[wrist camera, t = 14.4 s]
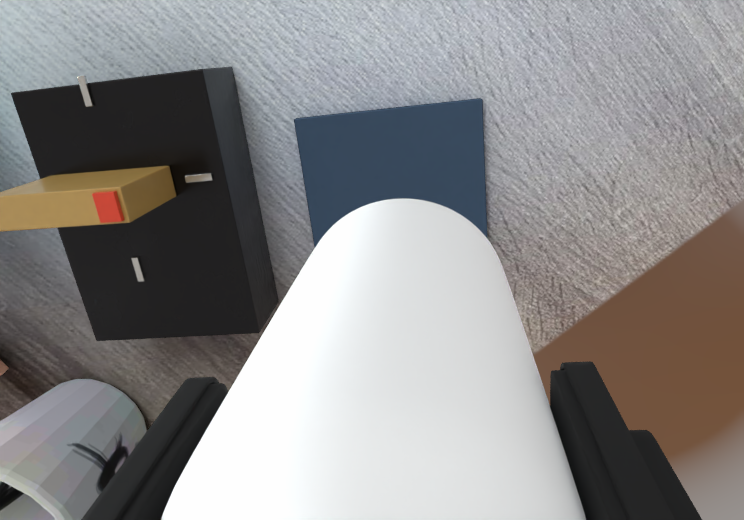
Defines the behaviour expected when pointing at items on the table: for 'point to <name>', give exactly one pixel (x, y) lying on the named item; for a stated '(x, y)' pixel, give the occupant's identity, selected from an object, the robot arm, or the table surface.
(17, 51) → the table surface
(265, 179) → the table surface
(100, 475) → the mug
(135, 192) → the manila folder box
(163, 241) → the black box
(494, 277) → the can
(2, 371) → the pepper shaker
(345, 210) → the mat
